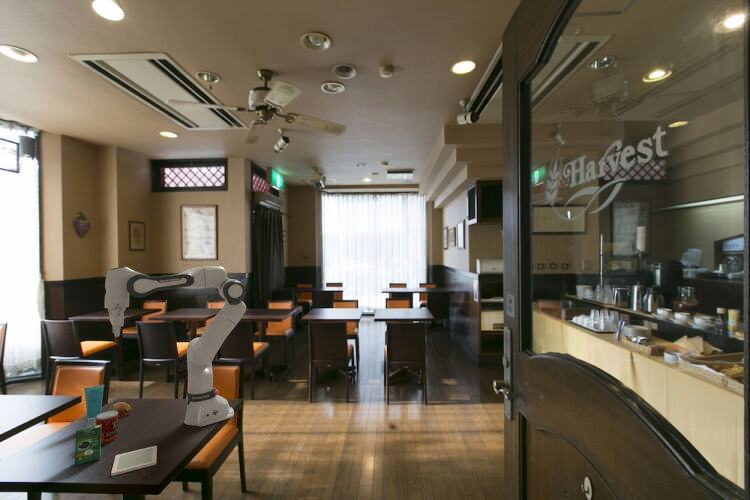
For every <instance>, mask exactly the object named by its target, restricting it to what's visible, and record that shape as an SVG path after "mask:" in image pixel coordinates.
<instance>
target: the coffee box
mask: <svg viewBox="0 0 750 500" xmlns="http://www.w3.org/2000/svg"><path fill="white" fill-rule="evenodd" d="M101 428H102V424H101V425H96V426H91V427H87V426H85V427H82V428H77V429H76V430H75V442H74V443H75V445H74V447H75V449H74V466H78V465H79V466H80V465H83V464H86V463H91V462H95V461H99V460H101V454H102V453H101V449H102V448H101V446H102V444H101Z"/></svg>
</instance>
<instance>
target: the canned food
mask: <svg viewBox="0 0 750 500" xmlns="http://www.w3.org/2000/svg"><path fill="white" fill-rule="evenodd" d="M101 424H102V428H101V445H102V444H108V443H110V442H111V443H112V442H113V441H115V440H116V439H118V435H119V418H118V412H117V411H107V410H106V411H104V412H101V414H99V415H97V416H96V425H101Z"/></svg>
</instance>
